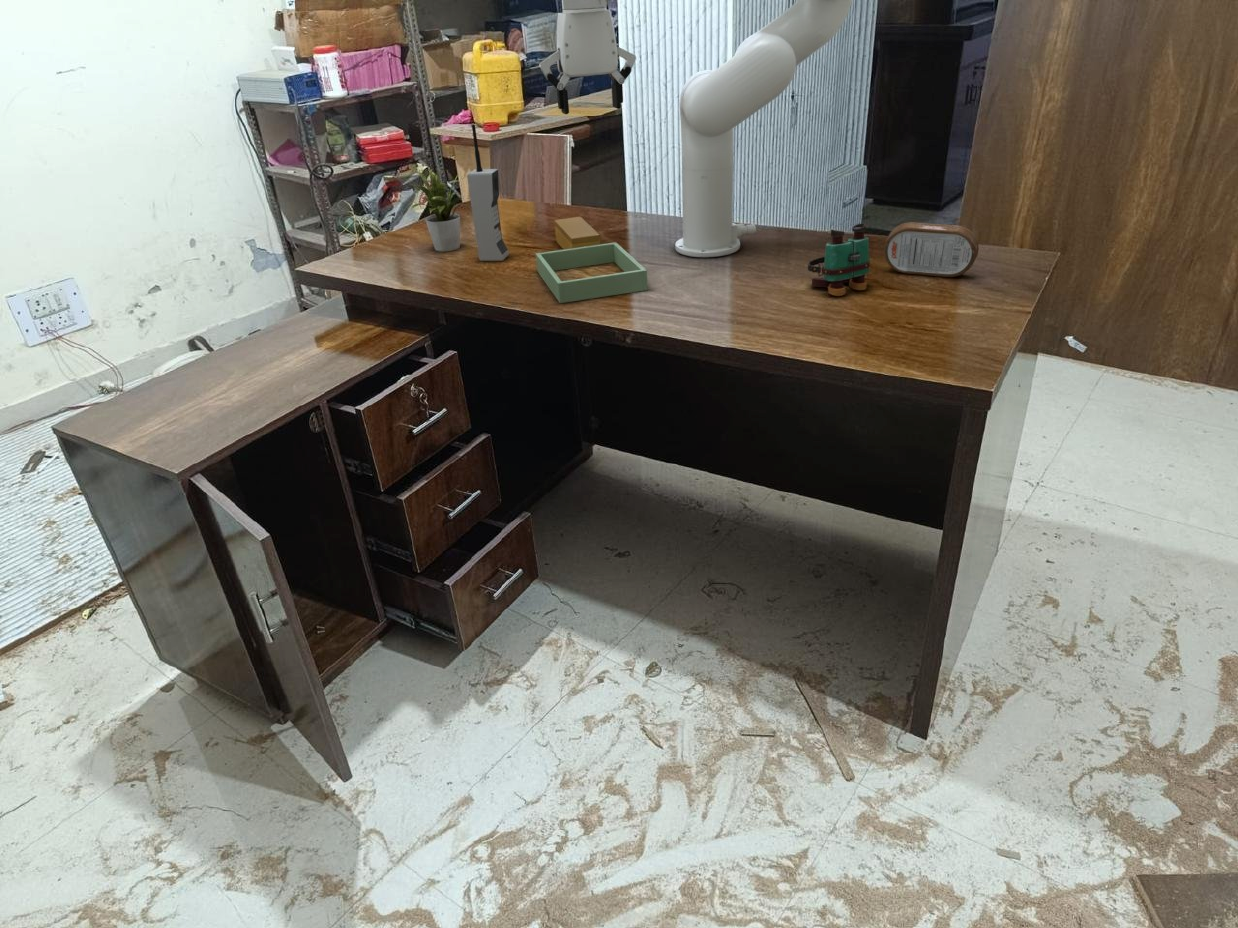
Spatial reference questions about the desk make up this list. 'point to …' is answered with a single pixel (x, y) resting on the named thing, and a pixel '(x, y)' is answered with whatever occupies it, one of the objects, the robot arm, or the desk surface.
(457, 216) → the house plant
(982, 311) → the desk surface
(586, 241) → the tan wooden plank
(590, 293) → the green rectangular open frame
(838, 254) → the binoculars
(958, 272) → the tin
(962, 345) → the desk surface
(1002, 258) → the desk surface
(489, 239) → the vintage mobile phone
